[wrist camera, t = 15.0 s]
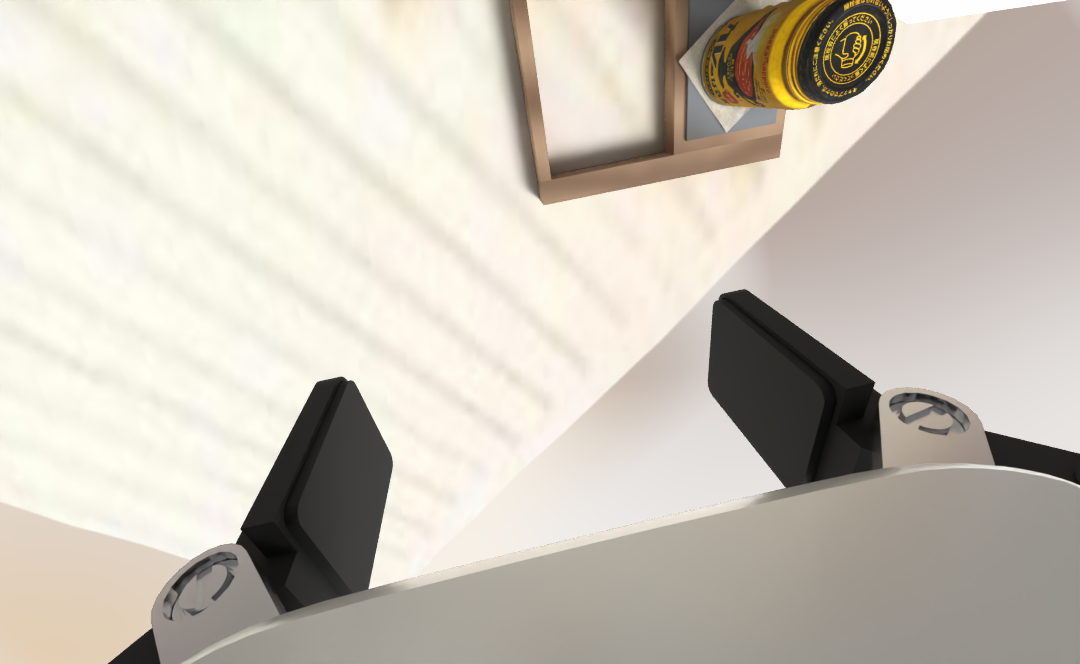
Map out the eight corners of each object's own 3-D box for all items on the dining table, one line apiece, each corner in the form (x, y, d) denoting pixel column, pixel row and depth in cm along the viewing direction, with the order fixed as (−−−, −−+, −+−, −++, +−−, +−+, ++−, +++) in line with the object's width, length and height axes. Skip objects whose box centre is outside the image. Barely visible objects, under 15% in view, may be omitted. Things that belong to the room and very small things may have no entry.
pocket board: (502, -40, 29) (505, -49, 28) (794, -91, 30) (817, -103, 29) (540, 200, 38) (544, 206, 36) (765, 154, 39) (781, 157, 37)
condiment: (677, 61, 32) (774, 48, 22) (768, -38, 30) (924, -104, 20) (724, 132, 36) (828, 150, 25) (810, 47, 33) (962, 29, 23)
